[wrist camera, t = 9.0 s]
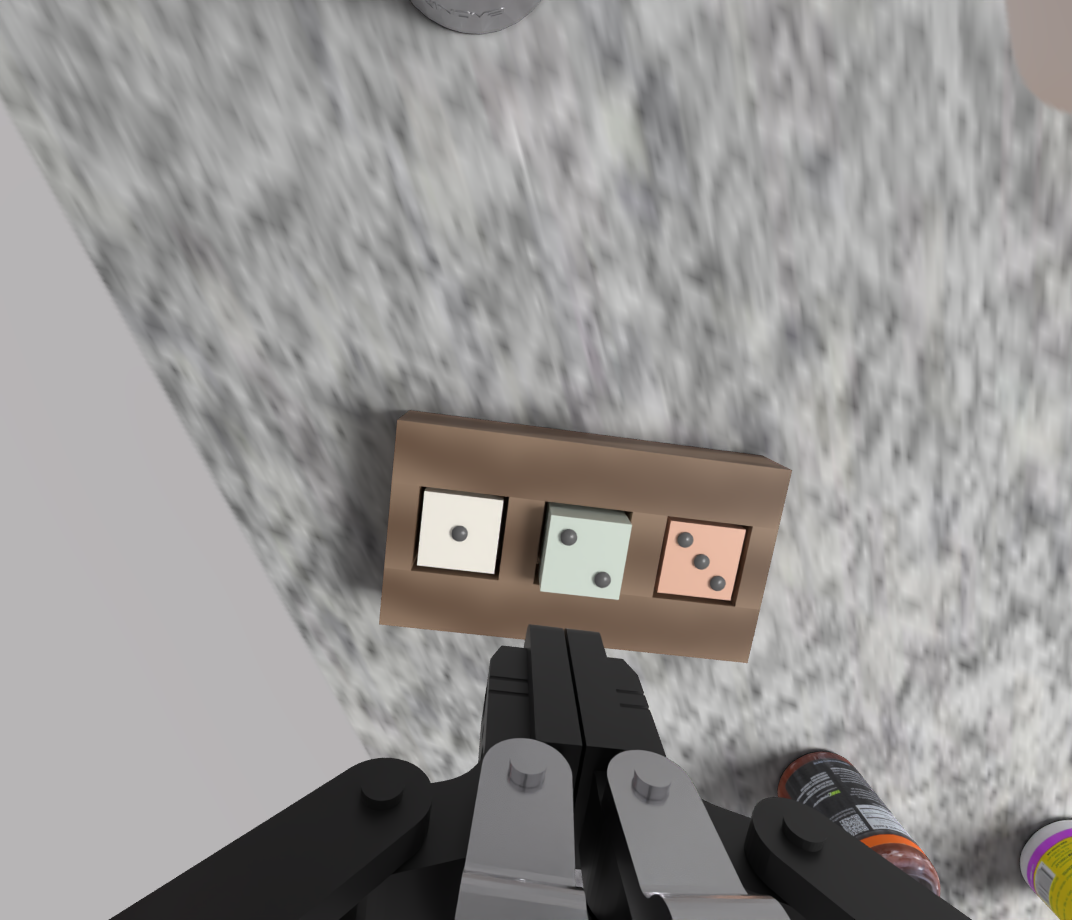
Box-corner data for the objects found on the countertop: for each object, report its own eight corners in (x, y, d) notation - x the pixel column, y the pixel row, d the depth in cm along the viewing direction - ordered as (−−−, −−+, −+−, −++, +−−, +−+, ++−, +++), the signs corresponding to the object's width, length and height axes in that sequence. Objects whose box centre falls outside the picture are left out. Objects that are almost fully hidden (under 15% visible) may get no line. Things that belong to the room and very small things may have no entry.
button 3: (658, 505, 37) (671, 521, 34) (727, 514, 37) (746, 530, 34) (646, 572, 38) (658, 593, 34) (713, 579, 38) (731, 601, 35)
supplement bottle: (819, 831, 43) (924, 1003, 32) (757, 794, 42) (843, 956, 31) (873, 772, 42) (1000, 927, 31) (810, 732, 42) (918, 877, 30)
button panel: (409, 410, 36) (397, 419, 32) (762, 455, 37) (791, 470, 33) (392, 594, 38) (379, 624, 34) (724, 630, 40) (747, 662, 36)
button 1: (431, 478, 36) (424, 491, 33) (504, 486, 36) (503, 501, 33) (424, 546, 37) (416, 566, 34) (495, 554, 37) (493, 575, 34)
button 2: (547, 499, 35) (551, 515, 32) (621, 508, 35) (632, 525, 32) (537, 569, 35) (540, 592, 32) (610, 577, 36) (619, 601, 33)
